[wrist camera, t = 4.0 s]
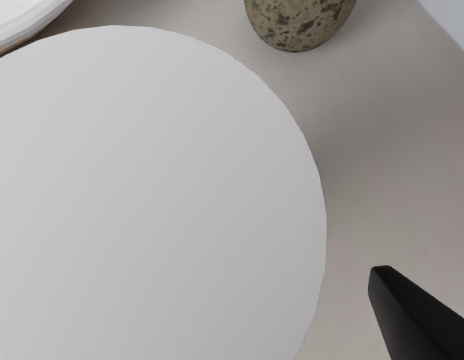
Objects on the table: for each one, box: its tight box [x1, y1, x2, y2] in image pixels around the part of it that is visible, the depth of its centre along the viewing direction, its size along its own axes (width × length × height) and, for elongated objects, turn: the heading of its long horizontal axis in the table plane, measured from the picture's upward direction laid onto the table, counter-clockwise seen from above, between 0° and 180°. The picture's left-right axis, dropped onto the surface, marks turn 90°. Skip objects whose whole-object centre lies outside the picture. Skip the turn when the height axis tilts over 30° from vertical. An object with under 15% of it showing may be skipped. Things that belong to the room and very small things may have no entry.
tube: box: [0, 25, 327, 360], centre depth 10 cm, size 4×4×15 cm
